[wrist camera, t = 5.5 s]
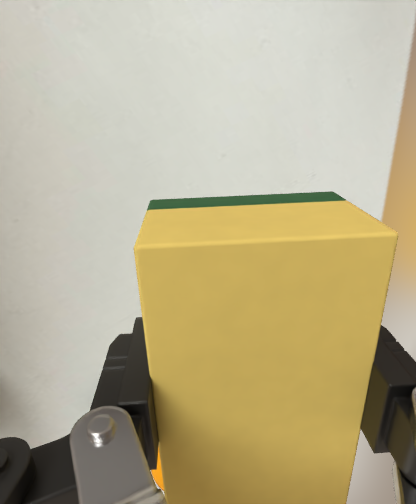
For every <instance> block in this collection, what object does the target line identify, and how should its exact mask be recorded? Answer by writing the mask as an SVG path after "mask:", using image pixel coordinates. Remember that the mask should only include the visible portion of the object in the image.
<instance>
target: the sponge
mask: <svg viewBox="0 0 416 504" xmlns="http://www.w3.org/2000/svg"><path fill="white" fill-rule="evenodd" d="M397 240H398V233H397V232H396V231H394V230H393V229H391V228H390V227H388V226H386V225H385V224H383V223H382V222H380V221H379V220H377V219H375V218H374V217H372V216H371V215H369V214H368V213H366V212H364V211H363V210H361V209H360V208H358V207H356V206H355V205H353V204H352V203H350V202H349V201H346V200H345V199H344V198H342V197H341V196H339V195H338V194H336V193H334V192H314V193H292V194H271V195H249V196H227V197H205V198H184V199H162V200H151V201H150V203H149V206H148V209H147V212H146V215H145V218H144V220H143V223H142V226H141V229H140V232H139V235H138V238H137V240H136V243H135V246H134V255H135V263H136V271H137V279H138V287H139V295H140V303H141V310H142V318H143V326H144V334H145V342H146V350H147V358H148V366H149V374H150V377H151V382H152V391H153V399H154V407H155V415H156V423H157V431H158V439H159V454H160V462H161V469H162V477H163V485H164V493H165V499H166V502H167V504H346V501H347V496H348V491H349V486H350V481H351V475H352V470H353V465H354V460H355V455H356V450H357V445H358V439H359V434H360V429H361V428H360V426H361V421H362V416H363V411H364V405H365V400H366V395H367V390H368V385H369V380H370V375H371V369H372V364H373V362H374V358H375V352H376V347H377V342H378V337H379V332H380V327H381V322H382V316H383V311H384V306H385V301H386V296H387V291H388V285H389V281H390V276H391V270H392V265H393V260H394V255H395V250H396V245H397Z"/></svg>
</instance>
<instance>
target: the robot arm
mask: <svg viewBox="0 0 416 504" xmlns="http://www.w3.org/2000/svg"><path fill="white" fill-rule="evenodd" d="M360 428H361V430H362V431H363V433H364V435H365V437H366V439H367V441H368V443H369V445H370V447H371V448H372V450H373V452H374V453H384V452H390V453H391V455H392V456H393V458H394V460H395V461H394V464H393V468H392V474H393V483H394V491H395V500H396V504H416V362H415V361H414V360H413V358H412V357H411V356H410V355H409V354H408V353H407V352H406V351H404V348H403V347H402V346H401V345H400V344H399V342H396V339H395V338H394V337H393V336H392V334H391V333H390V332H389V331H388V330H387V329H386V328H385V327H383V326H382V325H381V327H380V332H379V337H378V342H377V347H376V352H375V358H374V362H373V364H372V369H371V375H370V380H369V385H368V390H367V395H366V400H365V405H364V411H363V416H362V421H361V426H360ZM158 446H159V439H158V431H157V423H156V415H155V407H154V399H153V391H152V382H151V377H150V374H149V366H148V358H147V350H146V342H145V334H144V326H143V318H142V317H137V318H136V320H135V324H134V328H133V333H132V334H120V335H119V336H118V337H117V338H116V339H115V340H114V341H113V342H112V343H111V345H110V346H109V350H108V353H107V356H106V360H105V363H104V366H103V370H102V373H101V376H100V379H99V383H98V386H97V389H96V392H95V396H94V399H93V402H92V406H91V409H90V411H89V412H88V413H86V414H85V415H83V416H82V417H81V418H80V419H79V420H78V421H77V422H76V423H75V425H74V426H73V428H72V430H71V433H70V434H69V435H67V436H65V437H63V438H61V439H58V440H56V441H53V442H50V443H47V444H44V445H42V446H39V447H36V448H33V449H30V447H29V445H28V444H27V442H26V441H24V440H22V439H20V438H16V437H8V438H2V439H0V504H167V502H166V499H165V497H164V495H163V493H162V491H161V489H157V487H156V485H155V482H154V480H153V477H152V474H151V471H150V470H156V469H157V460H158Z"/></svg>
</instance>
